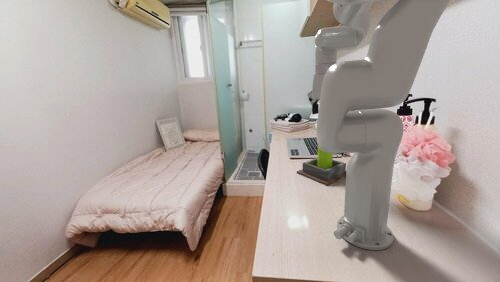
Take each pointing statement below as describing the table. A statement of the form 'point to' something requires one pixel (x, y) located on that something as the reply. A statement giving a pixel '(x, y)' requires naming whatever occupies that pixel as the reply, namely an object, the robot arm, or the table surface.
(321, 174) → the box
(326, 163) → the soap dispenser
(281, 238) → the table surface
